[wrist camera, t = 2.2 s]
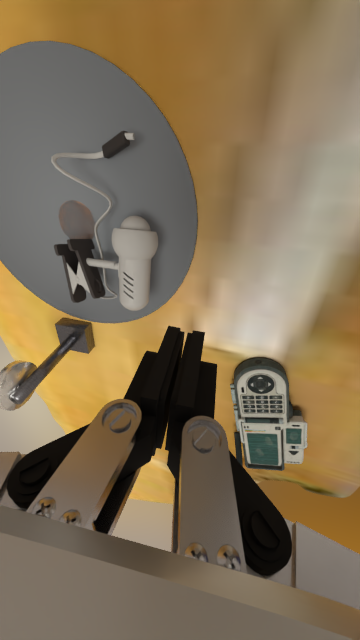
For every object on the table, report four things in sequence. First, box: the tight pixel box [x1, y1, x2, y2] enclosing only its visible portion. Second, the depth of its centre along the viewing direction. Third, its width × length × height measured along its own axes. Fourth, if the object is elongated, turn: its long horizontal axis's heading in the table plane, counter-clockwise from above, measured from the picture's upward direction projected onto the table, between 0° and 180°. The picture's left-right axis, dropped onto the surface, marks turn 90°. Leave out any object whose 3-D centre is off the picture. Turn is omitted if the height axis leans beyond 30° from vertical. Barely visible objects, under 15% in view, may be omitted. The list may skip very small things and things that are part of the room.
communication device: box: [230, 358, 307, 471], centre depth 37 cm, size 12×24×9 cm, turn 14°
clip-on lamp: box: [51, 131, 158, 311], centre depth 25 cm, size 12×6×18 cm
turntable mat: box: [0, 41, 198, 323], centre depth 28 cm, size 30×30×1 cm
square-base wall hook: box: [0, 318, 94, 410], centre depth 33 cm, size 6×5×15 cm
